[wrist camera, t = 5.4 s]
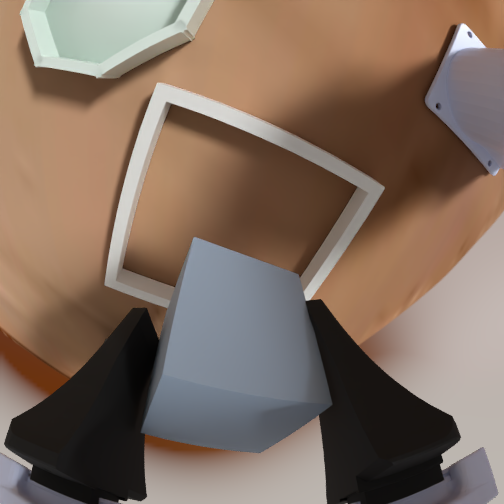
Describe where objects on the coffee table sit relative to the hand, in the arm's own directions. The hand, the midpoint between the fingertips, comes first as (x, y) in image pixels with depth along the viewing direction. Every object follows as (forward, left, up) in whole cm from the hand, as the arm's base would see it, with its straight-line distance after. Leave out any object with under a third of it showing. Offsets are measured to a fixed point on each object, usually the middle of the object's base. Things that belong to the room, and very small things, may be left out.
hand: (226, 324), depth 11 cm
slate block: (0, 0, -2) cm, 2 cm away
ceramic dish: (+12, -12, -8) cm, 19 cm away
